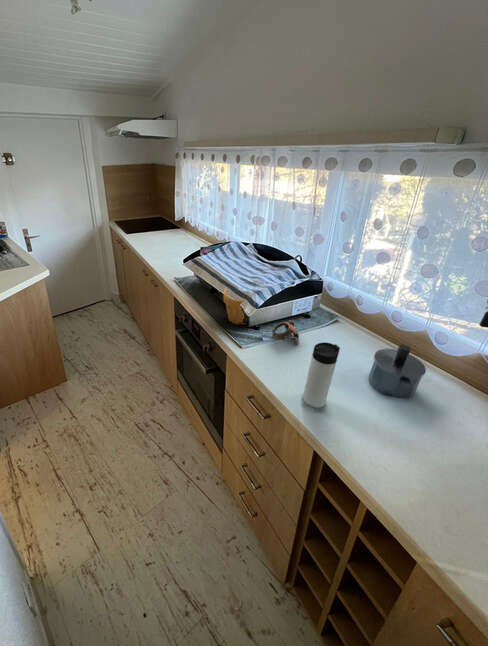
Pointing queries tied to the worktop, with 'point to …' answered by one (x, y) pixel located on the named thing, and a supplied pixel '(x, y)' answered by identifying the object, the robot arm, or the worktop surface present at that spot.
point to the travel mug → (320, 374)
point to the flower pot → (234, 309)
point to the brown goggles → (290, 329)
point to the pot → (392, 383)
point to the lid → (400, 362)
